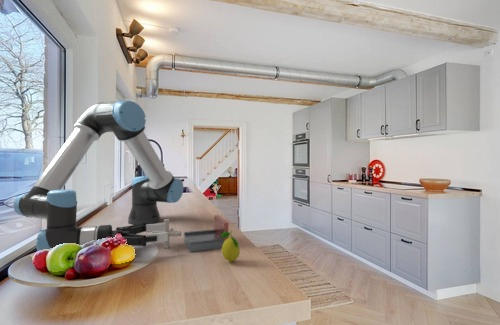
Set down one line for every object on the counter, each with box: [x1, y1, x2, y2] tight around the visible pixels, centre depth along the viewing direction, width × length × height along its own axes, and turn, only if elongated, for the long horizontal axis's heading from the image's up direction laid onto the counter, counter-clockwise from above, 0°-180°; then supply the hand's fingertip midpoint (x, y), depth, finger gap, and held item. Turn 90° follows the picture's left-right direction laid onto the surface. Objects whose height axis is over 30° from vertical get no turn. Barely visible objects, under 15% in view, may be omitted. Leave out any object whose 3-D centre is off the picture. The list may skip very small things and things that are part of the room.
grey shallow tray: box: [183, 214, 229, 253], centre depth 98 cm, size 14×14×9 cm
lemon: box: [221, 231, 241, 263], centre depth 80 cm, size 7×6×10 cm
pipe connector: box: [151, 218, 182, 249], centre depth 93 cm, size 10×10×10 cm
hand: (166, 231), depth 93 cm, fingers open, 13 cm apart
